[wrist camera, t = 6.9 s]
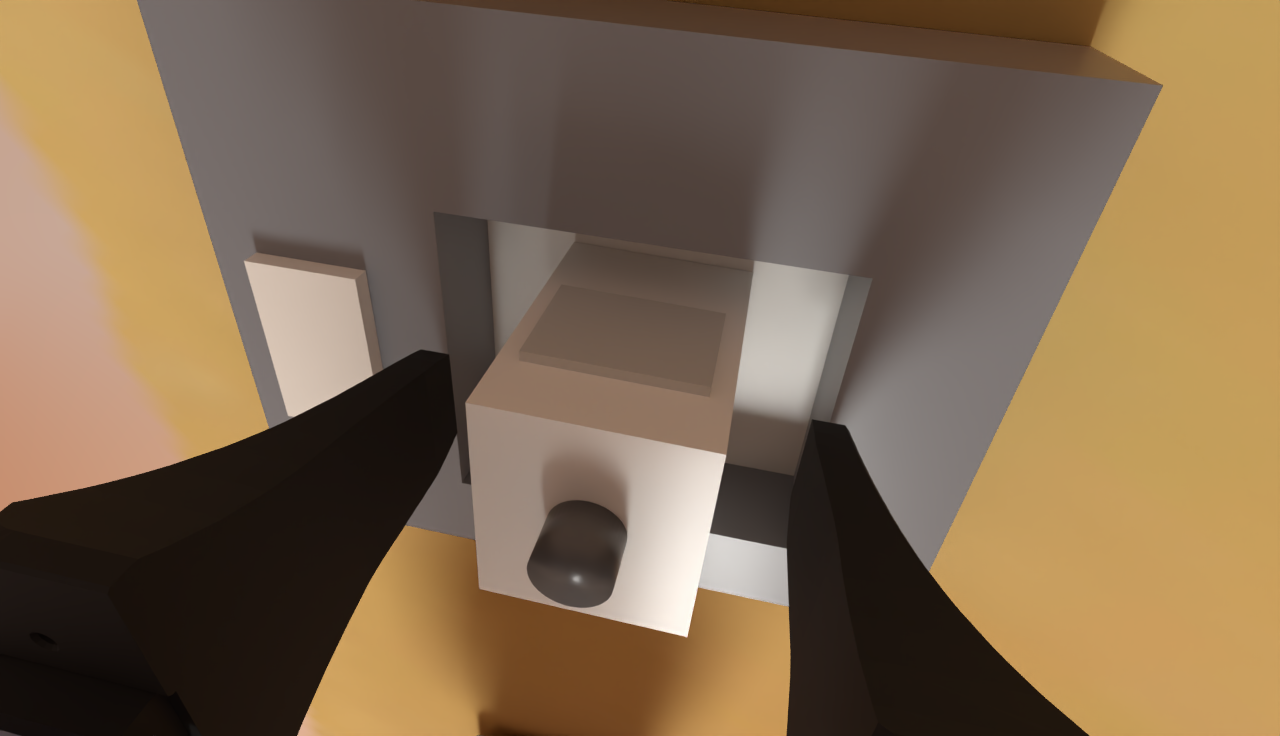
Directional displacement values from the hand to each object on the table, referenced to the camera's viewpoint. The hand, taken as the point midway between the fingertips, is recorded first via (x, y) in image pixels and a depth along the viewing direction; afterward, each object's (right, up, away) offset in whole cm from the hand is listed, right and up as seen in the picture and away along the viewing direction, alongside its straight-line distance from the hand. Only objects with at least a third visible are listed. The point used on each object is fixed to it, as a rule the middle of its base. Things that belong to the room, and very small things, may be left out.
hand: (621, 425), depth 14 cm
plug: (+1, +2, +3) cm, 3 cm away
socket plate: (0, +2, +3) cm, 4 cm away
